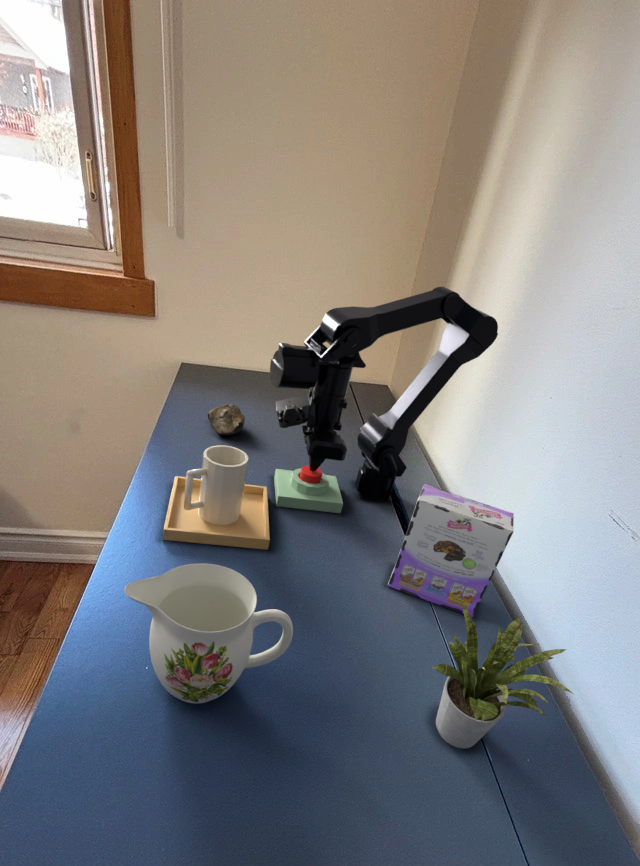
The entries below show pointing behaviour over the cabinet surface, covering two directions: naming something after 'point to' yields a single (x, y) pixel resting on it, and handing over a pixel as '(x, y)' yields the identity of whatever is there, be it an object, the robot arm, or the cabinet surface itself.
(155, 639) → the pitcher
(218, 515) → the tall mug
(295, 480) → the switch base
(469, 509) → the candy box
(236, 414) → the grey lumpy stone
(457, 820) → the cabinet surface
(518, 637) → the house plant
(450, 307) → the robot arm
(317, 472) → the switch button
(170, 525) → the stand tray
